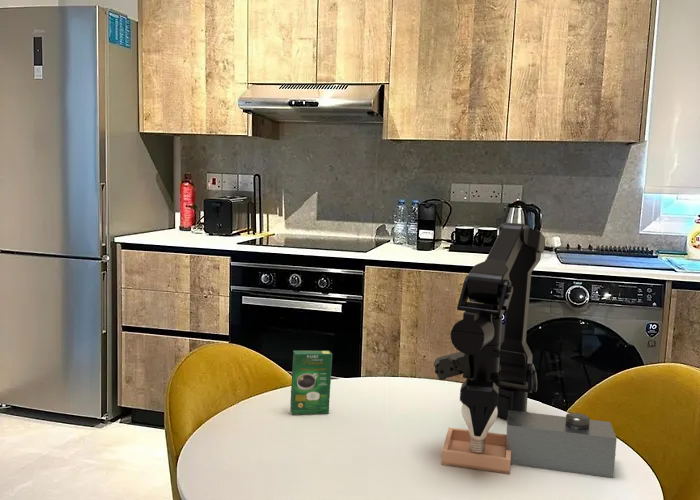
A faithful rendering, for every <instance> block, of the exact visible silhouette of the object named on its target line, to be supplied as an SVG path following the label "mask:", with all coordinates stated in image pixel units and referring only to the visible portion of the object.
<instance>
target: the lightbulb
mask: <svg viewBox="0 0 700 500" xmlns="http://www.w3.org/2000/svg"><path fill="white" fill-rule="evenodd" d="M497 415H498V409H497V406H496V408H495V410H494V411H493V413H492V415H491V417H490V419H489V421H488V423H487V425H486V427H485V429H484V431H483V433H482V435H481V436H480V437H478V436H474V432H473V426H472V420H471V414H470V409H469V408H468V407H467V406H466V405H465V404H463V403H462V405H461V417H462V418H463V421H464V422H465V425H467V430H469V434H470V439H471V440H470V441H471V442H470V450H471V451H472V452H474V453H476V454H479V453H482V452H484V451H485V438H486V437H487V434H488V432H490V431H489V430H490V429H491V428H492V426H493V425H494V424H495V422H496V420H497V418H498V416H497Z"/></svg>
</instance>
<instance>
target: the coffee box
mask: <svg viewBox="0 0 700 500" xmlns="http://www.w3.org/2000/svg"><path fill="white" fill-rule="evenodd" d="M292 351H293V352H292V353H293V354H292V355H293V356H292V367H291V369H292V371H291V387H290V388H291V389H290V404H289V405H290V414H291V415H294V416H295V415H323V414H324V415H325V414H329V413H330V396H331V382H332V380H331V379H332V368H333V367H332V365H333V363H332V362H333V353H332V352H331V351H330V350H292Z"/></svg>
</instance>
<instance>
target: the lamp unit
mask: <svg viewBox="0 0 700 500" xmlns="http://www.w3.org/2000/svg"><path fill="white" fill-rule="evenodd" d="M528 412H529V411H527V412H520V411H511V410H508V419H506V450H511V461H510V465H514V466H522V467H528V468H529V467H531V468H537V469H545V470H550V471H551V470H552V471H559V472H566V473H567V472H568V473H574V474H581V475H589V476H595V477H605V478H610V479H614V475H615V474H614V473H615V472H614V471H615V461H616V451H617V441H618V440H617V439H618V438H617V435H616V433H615V430H614V428H613V426H612V422H610V421H606V420H605V421H603V420H597V419H596V420H594V419H591V418H590V416H588V415H586V414H583V413H580V412H568V413H566V414H565V416H562V415H552V414H551V415H550V414H546V413H545V414H543V413H535V412H529V413H528ZM505 457H506V451H505Z"/></svg>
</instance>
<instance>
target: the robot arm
mask: <svg viewBox="0 0 700 500" xmlns="http://www.w3.org/2000/svg"><path fill="white" fill-rule="evenodd" d="M545 244H546V238H545V235H544V234H543V233H542V232H541V231H539V230H538V229H534V228H531V227H529V225H527V224H524V223H515V222H504V223H501V224H500V226H499V230H498V235H497V237H496V239H495V241H494V243H493V246H491V249H490V251H489V253H488V255H487V257H486V258H485V260H484V261H482V262H480V263H477V264H475V265H473V267H472V269H471V270H470V271H469V273H468V274H467V275H466V276H465V278H464V280H463V285H462V288H461V292H460V295H459V298H458V304H457V306H456V309H457V311H462V312H463V314H462V319H460V320H458V321H457V322H455V324H454V325H453V326H452V328H451V330H450V339H451V340H450V341H451V343H452V345H453V347H454V348H455V349H456V351H458V352H454V353H450V354H446V355H443V356H438V357H436V358H435V359H434V362H433V366H434V373H435V374H436V377H437V379H438V381H444V380H446V379H448V378H452V377H456V376H460V375H462V379H466V380H464V382H463V383H461V386H460V389H459V390H460V392H459V401H460V402H461V403H462V405H463V404H465V405H466V406H467V407H468V408H469V409H470V414H471V420H472V426H473V432H474V436H478V437H480V436H481V435H482V433H483V431H484V429H485V427H486V425H487V423H488V421H489V419H490V417H491V415H492V413H493V411H494V410H495V408H496V406H497V409H498V415H497V417H500V418H502V419H504V420H507V419H508V410H511V411H520V412H528V413H530V412H529V411H527V408H528V395H529V394H532V393H533V392H534V393H535V392H537V391H538V377H537V376H538V375H537V371H536V368H535V365H534V363H533V353H532V351H531V349H530V347H529V345H528V343H527V329H528V317H529V305H530V295H531V294H530V292H531V282H532V272H533V271H534V269H535V268H536V267H537V265H538V264H539V263H540V261H541V260H542V259H541V258H542V254H543V253H544V251H545ZM468 300H469V301H468ZM504 314H505V316H504V317H505V319H504V330H503V341H502V342H501V338H502V326H503V325H502V324H503V315H504Z"/></svg>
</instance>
